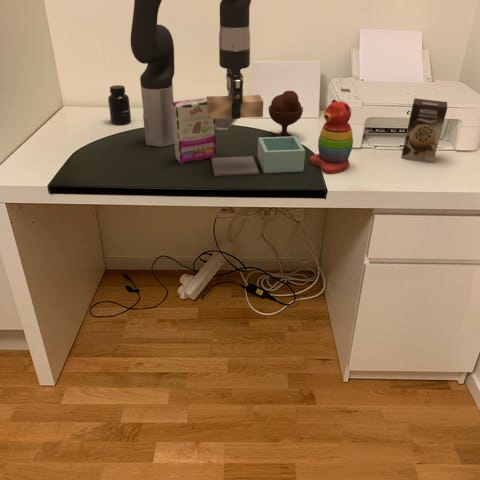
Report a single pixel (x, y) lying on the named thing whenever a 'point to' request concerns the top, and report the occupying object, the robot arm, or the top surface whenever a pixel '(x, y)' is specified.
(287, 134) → the ice cream bowl
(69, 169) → the top surface
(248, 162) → the mat
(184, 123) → the candy bar box
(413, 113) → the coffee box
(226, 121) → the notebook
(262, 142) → the dish
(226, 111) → the wooden block
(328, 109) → the stacking bear
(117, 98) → the supplement bottle
